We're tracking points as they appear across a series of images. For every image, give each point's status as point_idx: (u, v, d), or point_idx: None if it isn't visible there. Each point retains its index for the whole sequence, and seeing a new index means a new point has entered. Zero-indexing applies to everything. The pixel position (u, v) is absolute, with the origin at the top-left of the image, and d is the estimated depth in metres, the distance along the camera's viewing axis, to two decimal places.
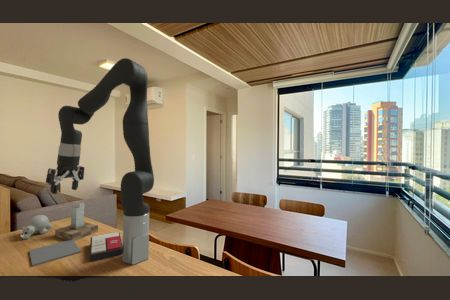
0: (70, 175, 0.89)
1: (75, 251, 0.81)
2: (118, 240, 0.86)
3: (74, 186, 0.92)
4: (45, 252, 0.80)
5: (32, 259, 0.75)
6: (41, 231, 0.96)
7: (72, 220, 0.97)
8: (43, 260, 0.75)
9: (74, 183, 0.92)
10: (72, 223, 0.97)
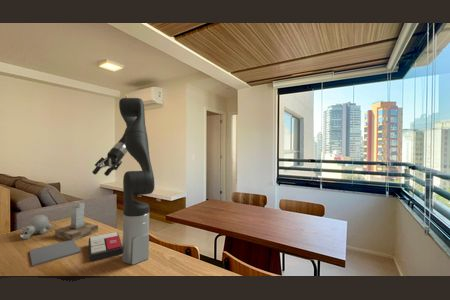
0: (108, 162, 1.12)
1: (75, 251, 0.81)
2: (117, 240, 0.86)
3: None
4: (45, 252, 0.80)
5: (32, 259, 0.75)
6: (41, 231, 0.96)
7: (72, 220, 0.97)
8: (43, 260, 0.75)
9: None
10: (72, 223, 0.97)
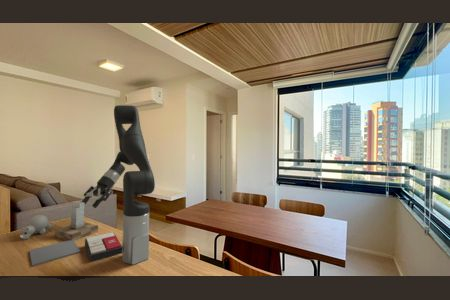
0: (97, 192, 1.06)
1: (75, 251, 0.81)
2: (116, 240, 0.86)
3: None
4: (45, 252, 0.80)
5: (32, 259, 0.75)
6: (41, 231, 0.96)
7: (72, 220, 0.97)
8: (43, 260, 0.75)
9: None
10: (72, 223, 0.97)
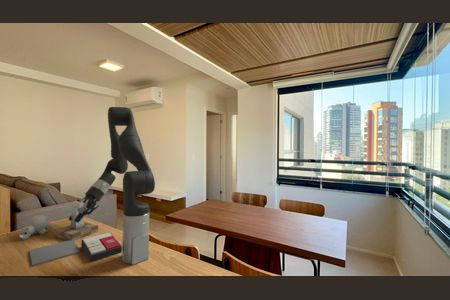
0: None
1: (75, 251, 0.81)
2: (114, 239, 0.86)
3: None
4: (45, 252, 0.80)
5: (32, 259, 0.75)
6: (40, 231, 0.96)
7: (72, 220, 0.97)
8: (43, 260, 0.75)
9: None
10: (72, 223, 0.97)
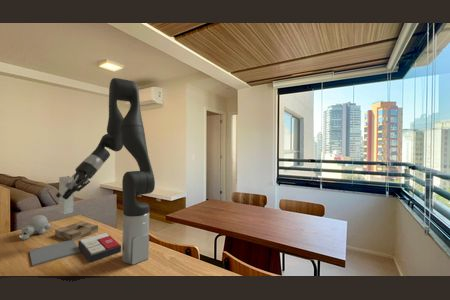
0: (74, 179, 0.91)
1: (75, 251, 0.81)
2: (112, 239, 0.86)
3: None
4: (45, 252, 0.80)
5: (32, 259, 0.75)
6: (40, 231, 0.96)
7: (60, 197, 0.86)
8: (43, 260, 0.75)
9: None
10: (60, 200, 0.86)
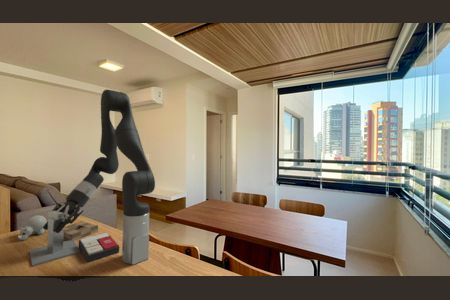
0: (64, 211, 0.84)
1: (75, 251, 0.81)
2: (111, 239, 0.86)
3: None
4: (45, 252, 0.80)
5: (32, 259, 0.75)
6: (39, 232, 0.96)
7: (49, 234, 0.80)
8: (43, 260, 0.75)
9: None
10: (49, 238, 0.80)
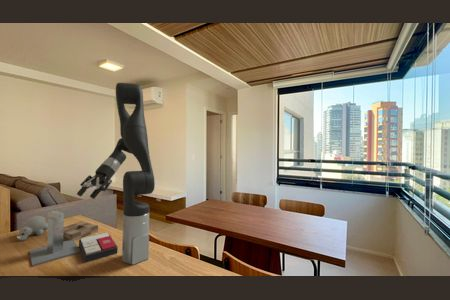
0: (95, 182, 0.96)
1: (75, 251, 0.81)
2: (110, 240, 0.86)
3: None
4: (45, 252, 0.80)
5: (32, 259, 0.75)
6: (38, 232, 0.95)
7: (49, 234, 0.80)
8: (43, 260, 0.75)
9: None
10: (49, 238, 0.80)
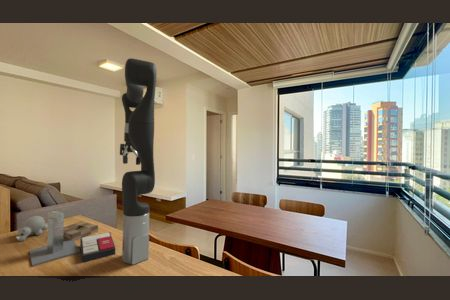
0: (131, 150, 1.06)
1: (75, 251, 0.81)
2: (110, 240, 0.85)
3: None
4: (45, 252, 0.80)
5: (32, 259, 0.75)
6: (37, 232, 0.95)
7: (49, 234, 0.80)
8: (43, 260, 0.75)
9: None
10: (49, 238, 0.80)
